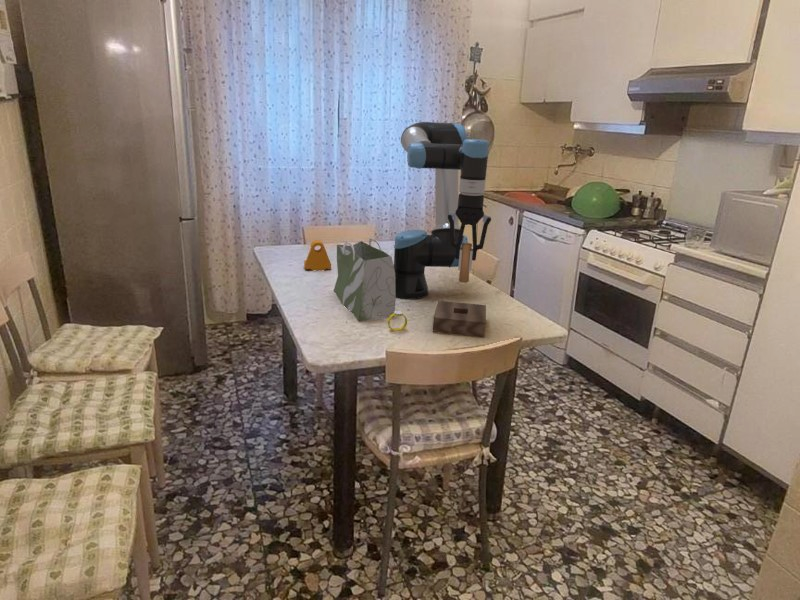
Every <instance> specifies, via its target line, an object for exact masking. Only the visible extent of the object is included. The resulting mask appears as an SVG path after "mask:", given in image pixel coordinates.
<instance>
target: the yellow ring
mask: <svg viewBox="0 0 800 600" xmlns="http://www.w3.org/2000/svg"><path fill="white" fill-rule="evenodd" d="M396 316H397V317H401V316H402V317H403V318H404V323H403V325H402V326H401V327H397V328H393V327H391V324H390V323H391V321H392V319H393V318H395V317H396ZM392 317H393V318H392ZM387 325H388V328H389V329H390V330H392V332H394V331H395V332H397V331H403V330H404V329H406V328H407V325H408V319H407V317H406V315H405V314H404V313H403V311H400V310H395V311H394V313H393V314H392V315H390V317H389V318H387Z"/></svg>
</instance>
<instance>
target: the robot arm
mask: <svg viewBox="0 0 800 600" xmlns="http://www.w3.org/2000/svg"><path fill="white" fill-rule="evenodd" d="M400 144H401V146H402V148H403V150H404V151H405V153H406V154H407V160H406V162H407V165H408V167H409V168H412V169H418V170H420V169H435V170H434V171H435V176H434V177H435V178H434V179H435V185H434V186H435V189H434V190H435V192H434V193H435V204H434V205H435V206H434V207H435V211H434V213H435V214H434V215H435V226H434V227H433V228H432V229H431V233H430V234H428V232H427V231H426V230H422V229H411V230H410V229H409V230H405V231H402V232H398V233H397V234H396V235H395V237H394V245H393V248H394V249H393V250H394V253H393V255H394V256H393V265H394V270H395V289H396V298H399V299H405V300H406V299H408V300H413V299H421V298H424V297H426V296H428V295H429V287H428V282H427V278H426V274H425V269H426V267H435V268H438V267H439V268H458V269H457V270H458V271H459V272H460V271H461V260H462V243H469V242H468V237H467V236H466V235H464V231H465V227H466V226H468V225H470V226H471V235H472V236H471V237H472V249H471V250H470V260H469V272H472V263H473V261H476V260H477V254H478V253H477V252H478V251H479V250H483V248H484V244H485V240H486V235H487V231H488V227H489V225H490V223H491V222H492V217H491V216H488V215H487V214H485V212H484V210H483V209H484V201H485V200H484V199H485V196H484V193H486V192H485V189H486V180H487V179H486V177H487V170H488V169H487V168H488V161H489V154H490V152H489V145H490V143H489V141H488V140H486V139H476V138H475V139H473V138H468V136H467V132H466V129H465V126H464V125H462V124H461V123H454V122H436V121H435V122H431V121H430V122H429V121H419V122H416V123H413V124H411V125H409V126H407V127H406V128H405V129H404V130H403V131H402V133H401V136H400ZM459 170H460V178H459ZM481 219H482V223H483V225H482V231H481V236H480V240H479V243H478V240H477V239H478V237H477V232H478V231H477V224H478V223H479V222H480V221H481ZM459 222H460V226H459Z"/></svg>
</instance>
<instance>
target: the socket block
mask: <svg viewBox="0 0 800 600" xmlns="http://www.w3.org/2000/svg"><path fill="white" fill-rule="evenodd" d="M432 317H433V318H432V319H433V320H432V330H431V332H432V333H435V334H436V333H438V334H444V335H445V334H446V335H456V336H465V337H475V338H485V332H486V325H487V305H486V304H480V303H479V304H477V303H468V302H467V303H466V302H459V301H458V302H456V301H446V300H437V304H436V307H435V310H434V314H433V316H432Z"/></svg>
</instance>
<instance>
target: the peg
mask: <svg viewBox="0 0 800 600" xmlns="http://www.w3.org/2000/svg"><path fill="white" fill-rule="evenodd" d="M471 249H473V243H470V242H468V243H462V260H461V271H459V277H458V278H459V279H458V282H459V283H465V284H466V283H469V280H470V271H469V260H470V250H471Z"/></svg>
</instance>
